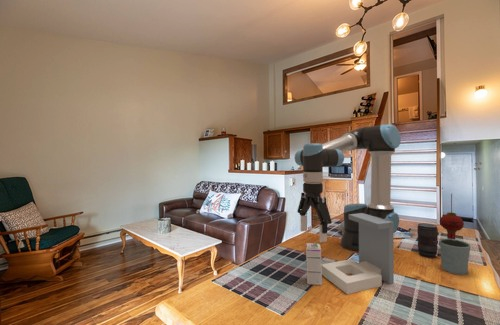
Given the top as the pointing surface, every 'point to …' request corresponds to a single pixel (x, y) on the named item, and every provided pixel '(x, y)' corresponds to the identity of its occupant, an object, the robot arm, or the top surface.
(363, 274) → the socket block
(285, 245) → the top surface
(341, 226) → the chubby cartoon animal
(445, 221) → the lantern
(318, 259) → the syrup box
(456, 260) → the grey green cup
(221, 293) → the top surface
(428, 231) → the camera lens
